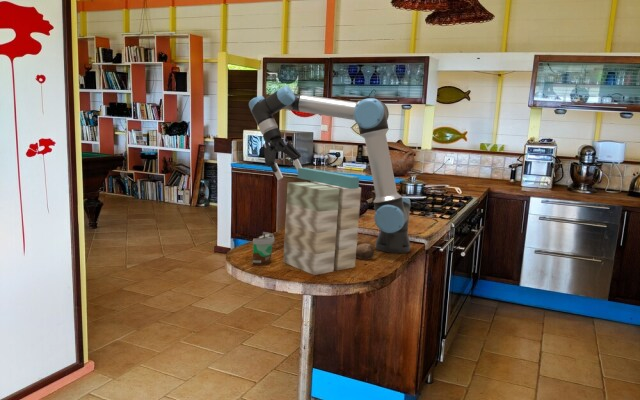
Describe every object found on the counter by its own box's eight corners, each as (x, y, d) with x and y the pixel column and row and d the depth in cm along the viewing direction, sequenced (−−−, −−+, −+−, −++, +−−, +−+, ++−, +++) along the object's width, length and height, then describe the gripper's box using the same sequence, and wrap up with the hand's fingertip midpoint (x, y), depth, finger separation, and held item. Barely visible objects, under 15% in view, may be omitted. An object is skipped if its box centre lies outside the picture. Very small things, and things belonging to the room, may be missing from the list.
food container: (267, 267, 180) (269, 240, 179) (251, 265, 181) (252, 238, 180) (277, 258, 192) (279, 233, 191) (262, 257, 193) (263, 231, 192)
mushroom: (363, 246, 208) (364, 236, 203) (377, 257, 204) (378, 247, 199) (349, 257, 204) (350, 247, 200) (364, 268, 200) (365, 258, 196)
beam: (297, 177, 201) (298, 167, 200) (305, 177, 203) (305, 167, 203) (350, 188, 179) (351, 177, 178) (358, 188, 181) (359, 177, 181)
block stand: (283, 262, 188) (287, 182, 184) (322, 255, 202) (328, 181, 197) (314, 275, 175) (320, 189, 170) (354, 267, 188) (361, 187, 184)
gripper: (284, 133, 225) (304, 175, 223) (243, 138, 206) (265, 185, 204) (295, 124, 221) (315, 167, 218) (254, 129, 202) (276, 177, 199)
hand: (291, 176), depth 211 cm, fingers open, 13 cm apart
